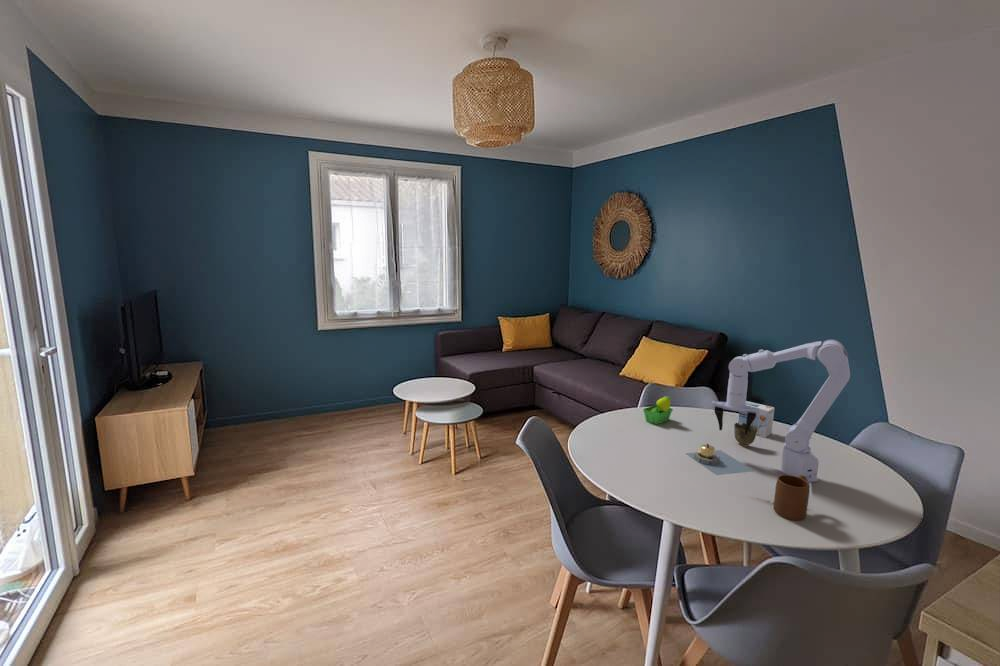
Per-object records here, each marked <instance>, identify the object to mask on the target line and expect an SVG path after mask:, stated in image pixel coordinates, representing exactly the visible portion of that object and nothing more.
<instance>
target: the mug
mask: <svg viewBox="0 0 1000 666" xmlns="http://www.w3.org/2000/svg"><path fill="white" fill-rule="evenodd" d="M810 486H811V485H810V482H808V480H807V478H806V477H805V476H803V475H800V476H799V477H796V476H791V475H788V474H781V475H780V474H779V475H778V477H777V478H776V484H775V490H774V491H775V492H774V500H773V510H774V512H775V513H776V514H777V515H779V516H781V518H784V519H787V520H791V521H802V520H804V519H805V518H806V517H807V514H808V513H807V511H808V504H809V498H810Z"/></svg>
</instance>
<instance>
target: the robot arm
mask: <svg viewBox="0 0 1000 666" xmlns="http://www.w3.org/2000/svg"><path fill="white" fill-rule="evenodd" d="M801 358H807V359H809V360H813V361H816V360H817V359H818V361H819V362H820V363H821V364H822V365H823V366H824V367H825V368H826V371H827V373H828V377H827V378H826V380H825V382H824V383H823V384H822V386H821V387H820V389H819V391H818V392H817V393H816V395H815V396H814V398H813V400H811V403H810V404H809V406H807V408H806V410H805V411H804V413H803V414H802V416H801V417H800V418H799V419H798V420H797V422H795V423H794V424H792V425H790V426H789V428H788V429H787V434H786V435H785V438H784V443H783V447H782V455H781V463H780V470H781V472H782V473H784V474H785V475H791V476H796V477H799V476H800V475H803V476H805V477H806V478H807V482H808V483H813V482H819V479H818V478H817V476H818V472H819V471H818V470H819V469H818V468H819V458H817V457H816V456H815V455H814V454H813V452H811V451H812V449H811V447H810V440H811V438H812V435H813V434H814V432H815V430H816V428H817V426H818V425H819V424H820V422H821V421H822V419H823V418H824V416H825V415H826V414H827V412H828V410H830V408H831V407H832V405H833V404H834V403H835V401H836V400H837V398H838V397H839V395H840V394H841V392H842V391H843V390H844V388H845V387H846V385H847V384H848V382H849V381H850V379H851V371H850V364H849V357H848V352H847V350H846V348H845V347H844V345H843V344H842V342H840V341H838V340H836V339H827V340H824V341H823V342H822V341H820V340H819V341H814V342H808V343H804V344H801V345H796V346H793V347H791V348H786V349H783V350H779V351H776V352H772V350H771V351H770V350H768V349H766V350H764V349H759V350H758V352H754V353H750V354H747V353H744V354H742V355H740V356H735V357H734V358H733V359H731V361H730V362H729V364H728V370H729V374H728V375H729V378H728V382H727V383H728V384H727V394H726V401H714V400H712V401H711V409H714V414H715V416H716V419H717V423H718V426H719V427H718V429H719V431H722V430H723V424H724V422H723V421H724V418H723V417H724V411H725V410H726V411H733V412H737V413H739V412H744V413H748V414H747V422H746V429H745V435H747V433H748V430H749V427H750V425H751V424H752V422H753V421H754V419H755V418H756V415H759V416H760V410H761V409H760V408H755V407H751V406H747V405H746V401H747V393H748V383H749V380H748V377H749V372H750V373H754V372H755V373H756V372H759V371H763V370H768V369H769V370H770V369H772V368H773V369H774V367H775V366H776V364H777V363H780V362H781V363H782V362H787V361H791V360H797V359H801Z"/></svg>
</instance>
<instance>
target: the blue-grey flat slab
mask: <svg viewBox="0 0 1000 666" xmlns="http://www.w3.org/2000/svg"><path fill="white" fill-rule="evenodd" d="M685 455H687V456H688V457H690V458H691V459H693V460H694V461H695V462H696V463H698V464H700V465H701V466H703V467H704V468H706V469H707V470H708V471H710V472H711V473H712V474H714V475H715V476H718V475H719V476H720V475H729V474H739V473H747V472H754V471H755V470H754V469H753V468H751V467H749V466H747V465H746V464H744V463H742V462H741V461H739V460H737V459H736V458H735V457H733V456H731V455H730V454H728V453H726V452H724V451H723V450H714V458H713V459H710V460H709V459H705V458H702V457H700V456H701V450H697V451H694V452H686V453H685Z"/></svg>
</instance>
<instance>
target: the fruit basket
mask: <svg viewBox="0 0 1000 666" xmlns="http://www.w3.org/2000/svg"><path fill="white" fill-rule="evenodd" d="M673 410H674V408H671V397H670V396H663V397H662V398H659V399H658V400H657V401H656V403H655V405H651V406H648V407H645V408H643V409H642V412H643V413H644V418H645V421H646V422H648V421H649V423H651V424H654V423H655V425H659V424H661V423H664V422H667V421H669V419H670V417H671V415H672V412H673Z"/></svg>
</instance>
